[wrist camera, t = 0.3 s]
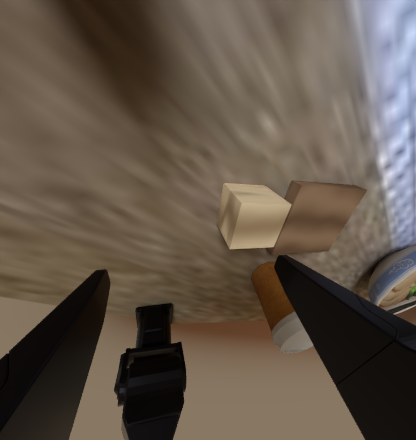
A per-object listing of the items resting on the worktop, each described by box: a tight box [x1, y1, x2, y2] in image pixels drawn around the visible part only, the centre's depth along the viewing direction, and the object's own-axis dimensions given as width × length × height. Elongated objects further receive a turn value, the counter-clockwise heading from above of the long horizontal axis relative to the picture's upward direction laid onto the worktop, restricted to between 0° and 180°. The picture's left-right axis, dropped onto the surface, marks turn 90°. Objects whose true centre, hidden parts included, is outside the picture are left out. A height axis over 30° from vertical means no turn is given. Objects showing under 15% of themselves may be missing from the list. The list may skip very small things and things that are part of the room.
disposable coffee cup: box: [252, 262, 314, 353], centre depth 29 cm, size 10×10×12 cm
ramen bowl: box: [368, 245, 416, 314], centre depth 40 cm, size 25×23×8 cm
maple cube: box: [216, 183, 291, 249], centre depth 22 cm, size 6×6×6 cm
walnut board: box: [267, 181, 367, 254], centre depth 28 cm, size 12×12×2 cm
